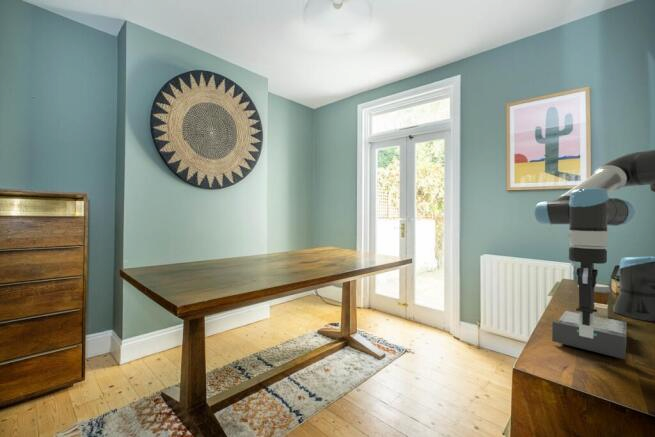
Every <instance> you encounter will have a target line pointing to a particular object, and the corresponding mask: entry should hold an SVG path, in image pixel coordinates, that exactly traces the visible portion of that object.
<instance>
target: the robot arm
mask: <svg viewBox="0 0 655 437" xmlns="http://www.w3.org/2000/svg"><path fill="white" fill-rule="evenodd" d="M635 186H649V188H650V191H651V192H652V193H654V194H655V149H651V150H644V151H636V152H632V153H628V154H625V155H622V156H619V157H617V158H614V159H612V160H610V161H608V162H607V163H604V164H602V165H601V166H599V167H597V168H596V169H595V170H594V171H593V173H592V175H591V176H589V177H587V178H586V179H585V180H583V181H581V182H580V183H579V184H577V185H575V186H574V187H572V188H570V189H569V190H568V191H567V192H566V191H565V192H564V193H563V194H562V195H560V196H559V197H557V198H555V199H554V200H546V201H544V200H543V201H540V202H538V203H537V204H536V205H535V208H534V217H535V219H536V221H537V222H538V223H540V224H545V225H551V226H552V225H569V233H567V234H566V235H565V236H566V237H567V238H569V239H568V242H569V245H570V246H571V247H568V260H569V261H571V262H576V263H580V267H577V268H576V276H577V286H578V285H579V288H578V307H577V308H575V311H576V312H578V313H579V336H583V337H587V338H592V339H593V327H594V312H597V309H594V287H595V285H596V283H597V276H598V274H599V271H598V269H597V268H594V267H595V266H594V265H595V264H599V265H601V264H606V263H608V250H607V249H606V247H608V237H609V236H608V235H609V234H608V232H609V231H608V226H611V227H612V226H613V227H614V226H615V227H618V226H621V225H625V224H627V223H630V221H631V220H633V218H634V216H635V208H634V206H633V204H631V202H630V201H627V200H625V199H621V198H618V197H613V198H611V197H609V193H610V192H614V191H618V190H620V189H623V188H625V187H635ZM618 269H619V294H618V296H617V298H616V300H615V303H614V304H613V309H612V310H613V313H615V312H616V313H615V314H617V313H618V314H617V315H620V314H621V315H620V316H623V315H624V316H623V317H626V318H631V319H636V320H640V321H641V320H642V321H646V320H647V321H648V322H654V321H655V256H626V257H622V258H621V259H620V263H619V268H618Z"/></svg>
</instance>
